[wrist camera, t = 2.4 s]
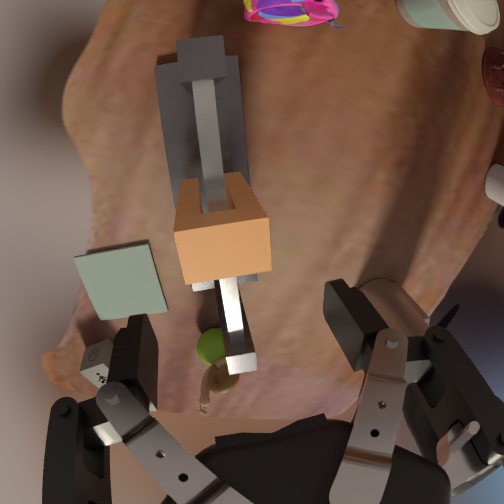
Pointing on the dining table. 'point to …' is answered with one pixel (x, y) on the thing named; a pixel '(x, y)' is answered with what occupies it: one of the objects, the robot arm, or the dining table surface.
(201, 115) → the rail stand
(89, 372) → the dice cube
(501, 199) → the bottle
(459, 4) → the coffee cup
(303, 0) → the pencil case
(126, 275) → the felt mat
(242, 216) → the c link
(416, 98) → the dining table surface
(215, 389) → the snail figurine
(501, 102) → the lantern
